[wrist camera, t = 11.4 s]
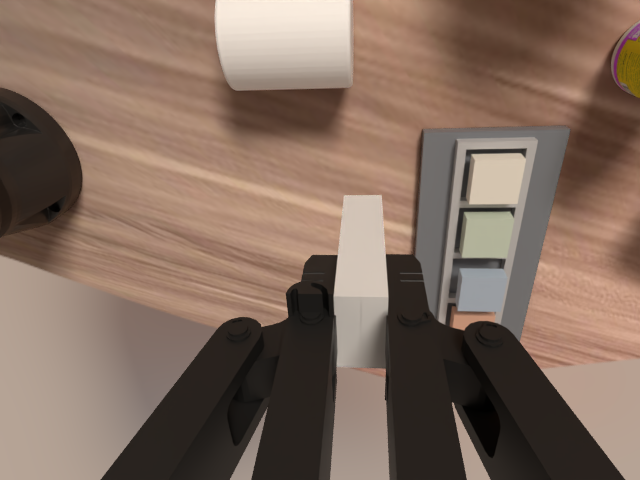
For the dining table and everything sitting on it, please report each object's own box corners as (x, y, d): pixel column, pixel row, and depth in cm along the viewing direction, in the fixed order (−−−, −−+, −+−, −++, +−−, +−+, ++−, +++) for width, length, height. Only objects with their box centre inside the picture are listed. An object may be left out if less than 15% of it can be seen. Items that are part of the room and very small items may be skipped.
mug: (353, 77, 40) (350, 97, 34) (247, 80, 41) (224, 100, 35) (353, -84, 34) (349, -99, 28) (228, -76, 35) (195, -89, 29)
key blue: (455, 301, 48) (457, 311, 47) (459, 268, 46) (462, 277, 44) (496, 302, 48) (500, 311, 46) (503, 268, 45) (507, 277, 44)
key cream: (465, 197, 43) (469, 204, 42) (471, 154, 41) (474, 160, 39) (512, 196, 43) (517, 204, 41) (520, 153, 40) (526, 159, 39)
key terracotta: (448, 335, 52) (450, 344, 51) (451, 306, 50) (454, 315, 49) (486, 336, 52) (489, 346, 50) (492, 306, 49) (495, 316, 48)
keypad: (409, 332, 55) (410, 345, 54) (422, 129, 42) (425, 136, 40) (516, 335, 54) (521, 348, 52) (565, 125, 41) (574, 132, 39)
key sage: (459, 249, 46) (462, 257, 45) (463, 211, 44) (467, 219, 42) (502, 249, 46) (506, 257, 44) (509, 211, 43) (514, 219, 42)
